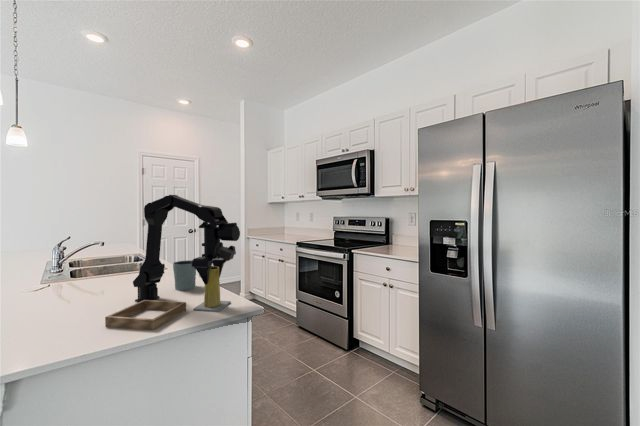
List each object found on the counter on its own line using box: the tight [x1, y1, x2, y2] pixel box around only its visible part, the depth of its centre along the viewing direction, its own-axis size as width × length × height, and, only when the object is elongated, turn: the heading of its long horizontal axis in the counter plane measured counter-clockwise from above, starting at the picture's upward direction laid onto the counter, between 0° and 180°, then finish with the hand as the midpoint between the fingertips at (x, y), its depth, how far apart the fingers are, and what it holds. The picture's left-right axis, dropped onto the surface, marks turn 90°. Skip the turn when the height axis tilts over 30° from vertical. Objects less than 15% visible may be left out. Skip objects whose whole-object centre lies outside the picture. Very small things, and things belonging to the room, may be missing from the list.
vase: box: [203, 265, 221, 307], centre depth 113 cm, size 6×6×14 cm
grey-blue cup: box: [172, 259, 197, 291], centre depth 138 cm, size 10×10×12 cm
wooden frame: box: [104, 299, 187, 331], centre depth 102 cm, size 17×17×3 cm
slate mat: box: [192, 300, 231, 313], centre depth 114 cm, size 10×10×1 cm
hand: (212, 280), depth 113 cm, fingers open, 9 cm apart
